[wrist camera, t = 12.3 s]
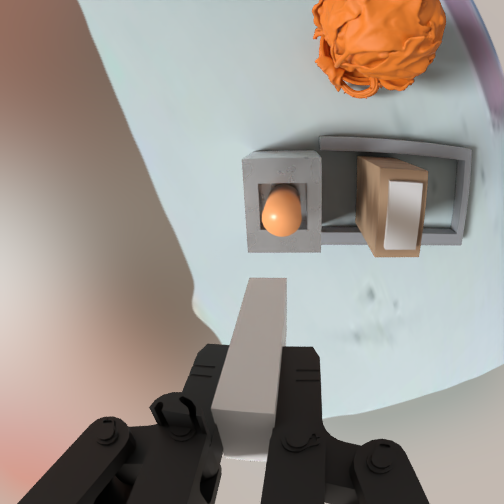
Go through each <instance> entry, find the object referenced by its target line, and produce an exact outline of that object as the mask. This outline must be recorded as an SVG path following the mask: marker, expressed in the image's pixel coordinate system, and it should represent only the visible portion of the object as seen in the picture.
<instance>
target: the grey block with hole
mask: <svg viewBox="0 0 504 504" xmlns="http://www.w3.org/2000/svg"><path fill="white" fill-rule="evenodd" d="M242 169H243V184H244V199H245V214H246V229H247V243H248V253H280V252H321V223H322V158H321V156H320V155H319V154H318V153H317V152H316V151H315V150H288V151H256V152H252V153H250V154H249V155H247V156H246V157H244V158H243V159H242ZM281 184H286V185H290V186H292V187H294V188H295V189H296V190H297V191H298V193H299V195H300V202H301V215H302V221H301V224H300V227H299V228H298V230H297V231H296V232H295V233H293V234H291V235H289V236H285V237H279V236H275V235H273V234H271V233H270V232H268V231H267V230H266V228H265V227H264V225H263V222H262V213H263V210H264V207H265V204H266V201H267V198H268V196H269V193H270V191H271V190H272V189H273V188H274V187H276V186H278V185H281Z"/></svg>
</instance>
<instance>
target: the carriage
mask: <svg viewBox="0 0 504 504" xmlns="http://www.w3.org/2000/svg"><path fill="white" fill-rule="evenodd" d="M427 184H428V171H427V170H424V169H422V168H419V167H417V166H414V165H412V164H409V163H407V162H404V161H402V160H399V159H396V158H393V157H376V156H357V194H356V218H355V223H356V225H357V226H358V228H359V230H360V232H361V233H362V235H363V237H364V239H365V240H366V242H367V244H368V246H369V248H370V249H371V251H372V253H373V255H374V257H419V253H420V246H421V239H422V232H423V225H424V216H425V207H426V196H427Z"/></svg>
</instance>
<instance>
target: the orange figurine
mask: <svg viewBox="0 0 504 504" xmlns="http://www.w3.org/2000/svg"><path fill="white" fill-rule="evenodd" d="M312 13H313V15H314V24H315V25H316V26H317V28H316V29H315V31H316V32H315V34H314V37H313V39H317V37H318V36H321V40H320V47H319V58H318V59H317V60H316V61H315V63H318V64H317V66H318V67H320V68H321V69H322V70H323V72H324V73H326V74H327V75H328V77H329V80H330V82H331V83H332V84H333V85H335V88H336V89H337V91H338V92H339V91H340V89H341V88H342V89H343V90H344V91H345V92H344V94H345V93H347V94H349V95H350V96H352V97H355V98H366V99H367V97H370V96H372V95H374V94H375V93H376V92H377V91H378V89H379V87H380V88H382V87H383V86H384V87H385V88H386V89H388V90H398V91H402V90H405V89H406V88H407V87H408V85H412V83H414V79H413V78H414V77H416V76H418V75H420V74H422V73H424V72H425V71H426V69H427V67H428V65H429V64H431V63H432V62H433V59H434V58H435V56H436V55H435V52H436V50H437V49H438V47H439V46H440V44H441V42H442V37H443V32H444V29H445V25H446V16H445V13H444V10H443V8H442V6H441V3H440V1H439V0H319V3H318V4H316V5H314V7H313V9H312ZM343 80H344V81H346V82H349V83H352V84H356V85H370V87H369V88H367V89H365V90H362V91H356V90H353V89H351V88H350V87H349V86H348V85H347V84H346V83H345V82H344V81H343Z"/></svg>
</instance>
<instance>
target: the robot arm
mask: <svg viewBox="0 0 504 504" xmlns="http://www.w3.org/2000/svg"><path fill="white" fill-rule="evenodd" d="M286 332H287V278H249V281H248V285H247V288H246V292H245V295H244V298H243V302H242V305H241V308H240V312H239V315H238V319H237V322H236V325H235V329H234V332H233V336H232V339H231V342H230V345H219V344H207V345H206V346H205V347H204V348H203V349H202V350H201V351H200V352H198V354H197V357H196V359H195V361H194V364H193V367H192V369H191V371H190V375H189V376H188V379H187V381H186V383H185V386H184V388H183V391H182V392H172V393H168V394H165V395H162V396H161V397H159V398H157V399H156V400H155V401H154V402H153V403H152V405H151V406H150V407H149V408H150V410H151V412H152V414H153V416H154V418H155V420H156V422H157V424H156V425H151V426H136V427H128V426H127V424H126V423H125V422H123V421H122V420H121V419H119V418H116V417H103V418H100V419H97V420H96V421H95V422H93V423H92V424H91V425H90V426H89V427H88V428H87V429H86V430H85V431H84V432H83V433H82V435H80V437H79V438H78V439H77V440H76V441H75V442H74V443H73V444H72V445H71V447H69V448H68V449H67V451H66V452H65V453H64V454H63V455H62V456H61V457H60V458H59V459H58V460H57V461H56V463H55V464H54V465H53V466H52V467H51V468H50V469H49V470H48V471H47V472H46V473H45V474H44V475H43V476H42V478H41V479H40V480H39V481H38V482H37V483H36V484H35V485H34V486H33V487H32V488H31V489H30V490H29V492H28V493H27V494H26V495H25V496H24V497H23V498H22V499H21V500H20V501H19V502H18V503H17V504H215V499H216V495H217V491H218V487H219V483H220V478H221V465H220V462H221V458H222V454H223V453H224V456H225V458H231V459H240V460H250V461H264V462H267V463H266V471H265V478H264V485H263V491H262V498H261V504H324V502H325V503H329V504H429V502H428V499H427V497H426V495H425V493H424V491H423V489H422V486H421V484H420V482H419V480H418V478H417V476H416V474H415V471H414V469H413V467H412V465H411V463H410V461H409V459H408V457H407V455H406V453H405V451H404V450H403V449H402V447H401V446H400V445H399V444H397V443H395V442H393V441H391V440H386V439H377V440H371V441H369V442H367V443H365V444H364V445H362V446H360V445H356V444H351V443H346V442H343V441H340V440H337V439H336V438H334V437H332V436H331V435H330V434H329V433H328V432H327V431H326V429H325V427H324V425H323V421H322V400H321V375H320V357H319V356H318V354H317V353H316V351H315V350H314V348H313V347H286Z"/></svg>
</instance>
